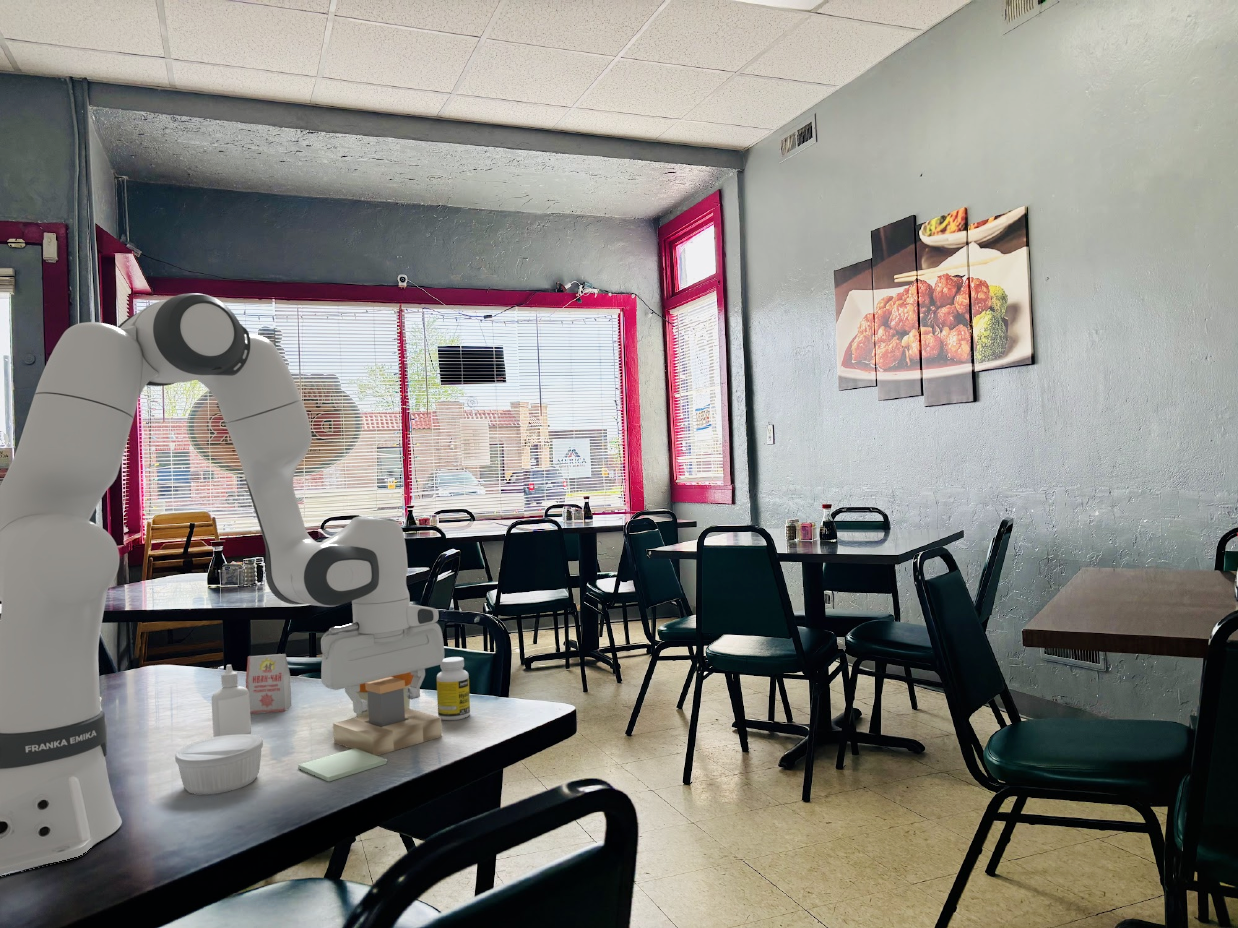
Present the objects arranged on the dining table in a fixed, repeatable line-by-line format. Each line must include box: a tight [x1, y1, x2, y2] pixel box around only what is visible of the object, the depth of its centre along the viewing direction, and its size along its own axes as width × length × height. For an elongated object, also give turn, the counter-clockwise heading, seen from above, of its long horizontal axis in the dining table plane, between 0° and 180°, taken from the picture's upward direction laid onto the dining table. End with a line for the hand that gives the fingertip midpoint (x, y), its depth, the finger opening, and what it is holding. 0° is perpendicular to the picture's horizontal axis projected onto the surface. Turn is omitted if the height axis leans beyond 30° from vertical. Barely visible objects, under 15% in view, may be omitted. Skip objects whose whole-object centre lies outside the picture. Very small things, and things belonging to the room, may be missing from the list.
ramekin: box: [174, 733, 264, 795], centre depth 125 cm, size 11×11×5 cm
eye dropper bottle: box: [211, 664, 252, 738], centre depth 147 cm, size 4×6×12 cm
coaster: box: [297, 748, 388, 782], centre depth 129 cm, size 9×9×1 cm
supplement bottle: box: [436, 656, 471, 721], centre depth 152 cm, size 5×5×10 cm
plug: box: [365, 677, 405, 727], centre depth 141 cm, size 4×4×9 cm
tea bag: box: [245, 653, 293, 715], centre depth 164 cm, size 4×7×10 cm, turn 93°
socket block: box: [332, 707, 443, 757], centre depth 141 cm, size 12×12×3 cm
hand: (387, 705), depth 141 cm, fingers open, 8 cm apart
